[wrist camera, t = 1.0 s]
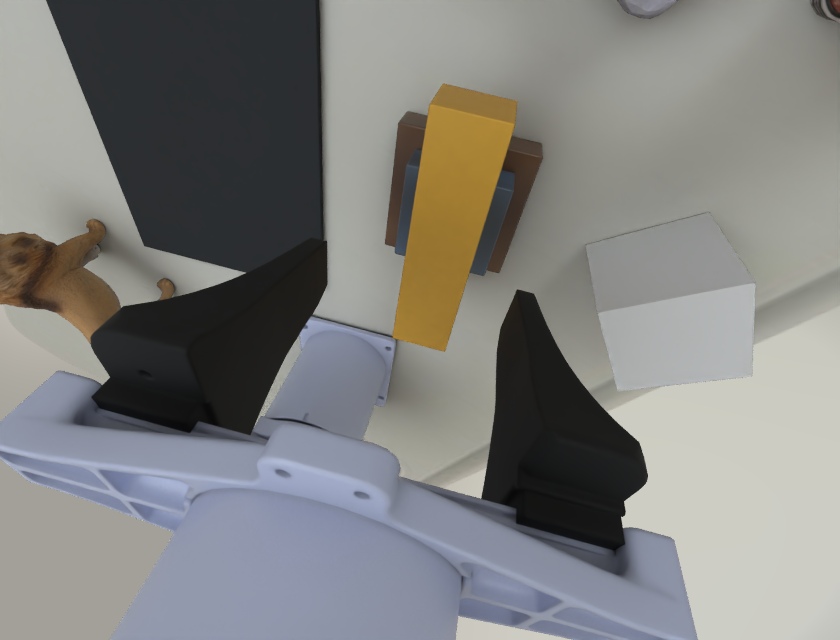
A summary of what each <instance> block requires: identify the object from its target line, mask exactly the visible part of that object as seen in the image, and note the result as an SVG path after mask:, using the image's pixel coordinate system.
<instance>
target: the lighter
mask: <svg viewBox="0 0 840 640" xmlns="http://www.w3.org/2000/svg"><path fill="white" fill-rule="evenodd" d="M811 6H812V7H813V9H814V10H815V12H816V14H817V15H819V16H822V17H824V18H826V19H829V20H833V21H837V22H840V0H811Z"/></svg>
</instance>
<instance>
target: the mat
mask: <svg viewBox="0 0 840 640" xmlns="http://www.w3.org/2000/svg"><path fill="white" fill-rule="evenodd" d="M46 1H47V4H48V6H49V9H50V11H51V14H52V16H53V19H54V21H55V24H56V26H57V29H58V31H59V34H60V36H61V39H62V41H63V44H64V46H65V49H66V51H67V54H68V56H69V59H70V61H71V64H72V66H73V69H74V71H75V74H76V76H77V79H78V81H79V84H80V86H81V89H82V91H83V94H84V96H85V99H86V101H87V104H88V106H89V109H90V111H91V114H92V116H93V119H94V121H95V124H96V126H97V129H98V131H99V134H100V136H101V139H102V141H103V144H104V146H105V149H106V151H107V154H108V156H109V159H110V161H111V164H112V166H113V169H114V171H115V174H116V176H117V179H118V181H119V184H120V186H121V189H122V191H123V194H124V196H125V199H126V201H127V204H128V206H129V209H130V211H131V214H132V216H133V219H134V221H135V224H136V226H137V229H138V231H139V234H140V236H141V239H142V241H143V244H144V246H146V247H150V248H154V249H158V250H162V251H165V252H169V253H173V254H177V255H181V256H185V257H188V258H192V259H196V260H200V261H204V262H208V263H211V264H215V265H219V266H223V267H227V268H231V269H234V270H238V271H242V272H246V273H248V272H250V271H252V270H254V269H256V268H258V267H260V266H262V265H264V264H266V263H268V262H270V261H271V260H273V259H275V258H277V257H278V256H280V255H282V254H284V253H285V252H287V251H289V250H290V249H292V248H294V247H295V246H297V245H299V244H301V243H302V242H304V241H306V240H307V239H309V238H315V239H319V240H323V185H322V129H321V73H320V17H319V0H46ZM323 241H324V240H323Z"/></svg>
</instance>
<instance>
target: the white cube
mask: <svg viewBox="0 0 840 640" xmlns="http://www.w3.org/2000/svg"><path fill="white" fill-rule="evenodd" d="M586 250H587V256H588V262H589V268H590V273H591V279H592V285H593V291H594V297H595V302H596V308H597V314H598V317H599V321H600V325H601V329H602V333H603V336H604V340H605V344H606V348H607V352H608V355H609V359H610V363H611V367H612V371H613V374H614V378H615V382H616V386H617V390H618V391H624V390H634V389H643V388H652V387H661V386H670V385H679V384H688V383H697V382H706V381H716V380H725V379H733V378H743V377H752V367H753V366H752V365H753V339H754V310H755V281H754V279H753V278H752V276H751V275H750V273H749V272H748V270H747V269H746V267H745V266H744V264H743V263H742V261H741V260H740V258H739V257H738V255H737V254H736V252H735V251H734V249H733V248H732V246H731V244H730V243H729V241H728V240H727V238H726V237H725V235H724V234H723V232H722V231H721V229H720V228H719V226H718V225H717V223H716V222H715V220H714V219H713V217H712V216H711V214H710V213H709V212H707V213H704V214H700V215H696V216H692V217H689V218H685V219H681V220H677V221H673V222H670V223H666V224H662V225H658V226H655V227H651V228H647V229H643V230H640V231H636V232H632V233H628V234H624V235H621V236H617V237H613V238H609V239H606V240H602V241H598V242H594V243H591V244H587V245H586Z"/></svg>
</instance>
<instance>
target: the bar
mask: <svg viewBox="0 0 840 640" xmlns="http://www.w3.org/2000/svg"><path fill="white" fill-rule="evenodd" d="M516 111H517V101H515V100H510V99H506V98H502V97H498V96H494V95H489V94H485V93H481V92H477V91H473V90H468V89H464V88H460V87H456V86H452V85H447V84H443V85H442V86H441V88H440V89H439V91H438V92H437V94H436V95H435V97H434V98H433V100H432V101H431V103H430V105H429V110H428V117H427V123H426V129H425V136H424V142H423V148H422V154H421V161H420V167H419V173H418V180H417V186H416V192H415V198H414V205H413V211H412V217H411V223H410V230H409V236H408V242H407V249H406V255H405V261H404V267H403V274H402V280H401V286H400V293H399V299H398V305H397V311H396V318H395V324H394V330H393V336H392V337H393V338H395V339H398V340H402V341H406V342H410V343H414V344H417V345H421V346H425V347H429V348H433V349H436V350H440V351H445V350H446V347H447V343H448V340H449V337H450V334H451V331H452V327H453V324H454V321H455V318H456V314H457V311H458V308H459V305H460V302H461V298H462V295H463V292H464V289H465V285H466V282H467V279H468V276H469V272H470V269H471V266H472V263H473V260H474V256H475V253H476V250H477V247H478V243H479V240H480V237H481V234H482V231H483V227H484V224H485V221H486V218H487V214H488V211H489V208H490V205H491V202H492V198H493V195H494V192H495V189H496V185H497V182H498V179H499V176H500V172H501V169H502V166H503V163H504V160H505V156H506V153H507V150H508V147H509V143H510V140H511V137H512V134H513V131H514V127H515V121H516Z"/></svg>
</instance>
